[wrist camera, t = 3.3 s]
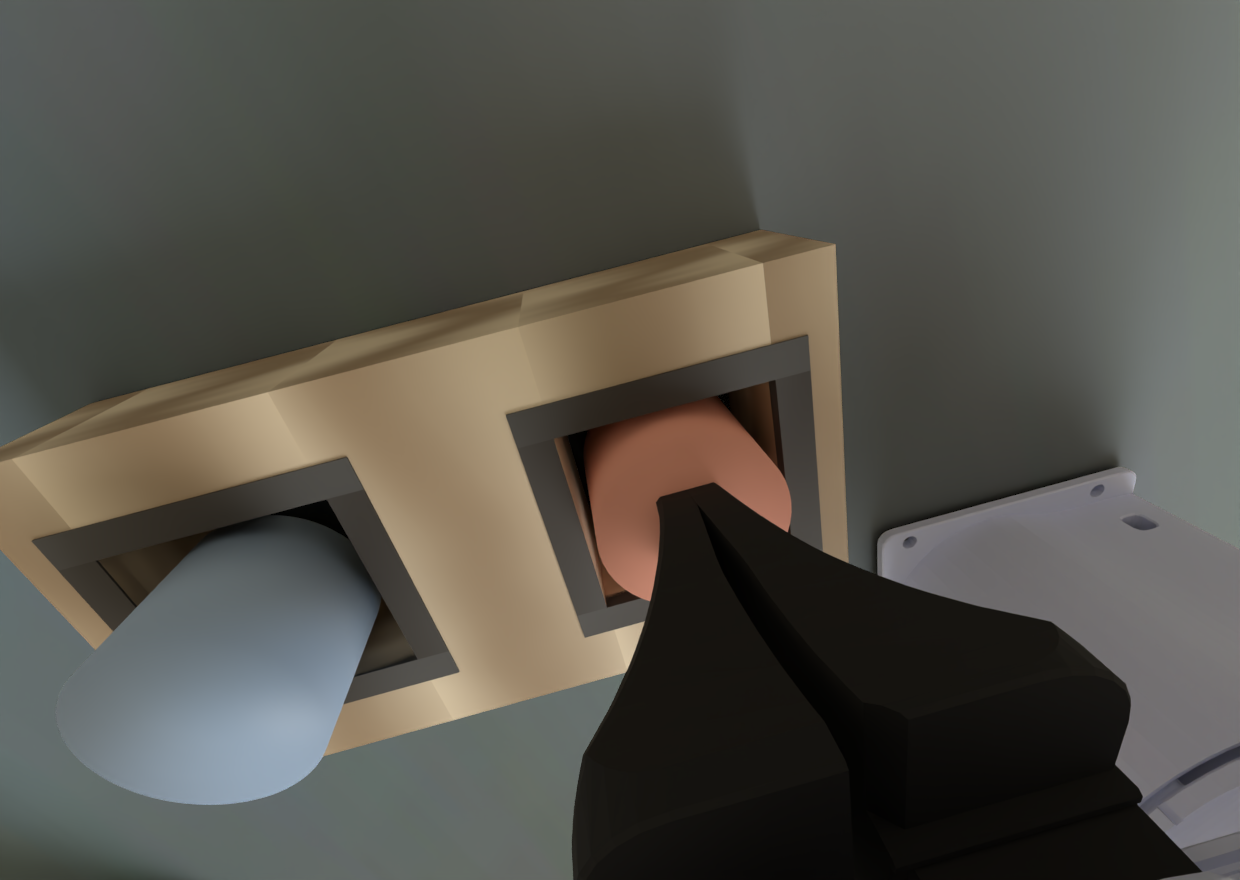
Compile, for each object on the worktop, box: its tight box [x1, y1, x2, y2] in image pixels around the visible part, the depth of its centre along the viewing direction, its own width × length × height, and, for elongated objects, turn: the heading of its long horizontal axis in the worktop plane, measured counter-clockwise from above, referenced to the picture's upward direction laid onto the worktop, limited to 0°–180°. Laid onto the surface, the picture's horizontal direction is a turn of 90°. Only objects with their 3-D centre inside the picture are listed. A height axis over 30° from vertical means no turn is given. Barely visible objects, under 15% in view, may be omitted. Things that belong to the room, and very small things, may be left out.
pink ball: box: [583, 396, 792, 601], centre depth 13 cm, size 4×4×4 cm
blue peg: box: [56, 515, 381, 805], centre depth 12 cm, size 4×4×4 cm
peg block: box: [0, 230, 848, 756], centre depth 14 cm, size 18×10×4 cm, turn 103°
